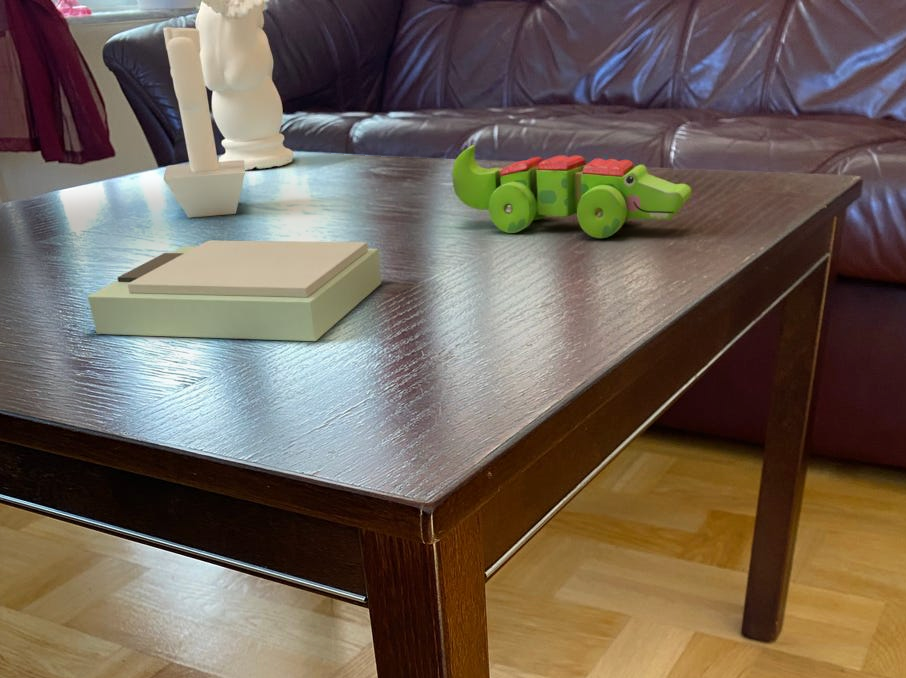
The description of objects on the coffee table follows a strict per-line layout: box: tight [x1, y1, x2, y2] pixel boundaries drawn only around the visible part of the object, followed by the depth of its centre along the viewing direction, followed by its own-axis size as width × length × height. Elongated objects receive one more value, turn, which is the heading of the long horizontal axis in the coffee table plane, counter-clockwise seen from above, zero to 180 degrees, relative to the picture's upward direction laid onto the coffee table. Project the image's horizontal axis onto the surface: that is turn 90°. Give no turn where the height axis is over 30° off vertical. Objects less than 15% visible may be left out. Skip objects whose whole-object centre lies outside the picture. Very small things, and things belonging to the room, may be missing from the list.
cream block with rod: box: [162, 26, 246, 219], centre depth 92 cm, size 7×9×15 cm
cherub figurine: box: [194, 0, 294, 171], centre depth 111 cm, size 12×12×22 cm
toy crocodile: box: [451, 144, 692, 239], centre depth 82 cm, size 20×7×6 cm, turn 64°
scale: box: [87, 240, 382, 342], centre depth 68 cm, size 15×13×3 cm
